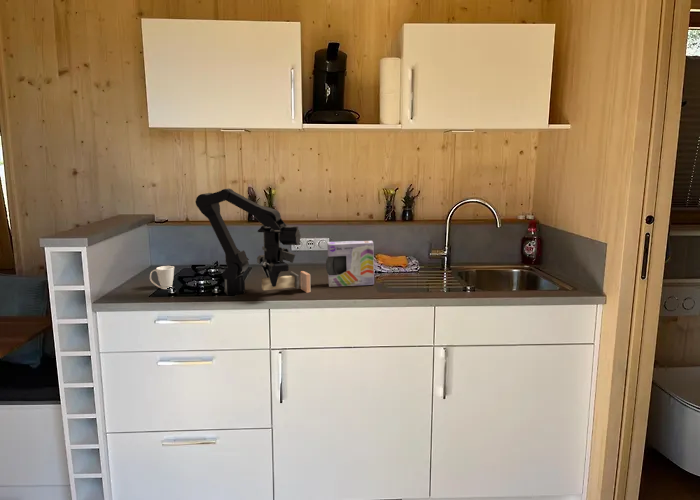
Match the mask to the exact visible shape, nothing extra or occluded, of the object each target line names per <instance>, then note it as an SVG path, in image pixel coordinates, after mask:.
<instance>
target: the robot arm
mask: <svg viewBox="0 0 700 500" xmlns="http://www.w3.org/2000/svg"><path fill="white" fill-rule="evenodd" d="M225 201H226V202H228V203H230V204H232V205H234V206H236V207H238V208H239V209H241V210H243V211H244V212H246V213H248V214H250V215H252V216H253V217H254V218H255V219H256V220H257V221H258V222H259V223H260V224H261V226H260V228H259V229H257V233H263V246H262V247H261V250H262V251H263V254H259V255H258V256H257V258H256V264H258V265H260V268H261V269H262V272H263V273H264V274H265V278H270V281H271V284H272V286H273V287H275V286H276V283H277V279H278V277H280V276H279V275H280V273H281V272H288V271H289V267H290V266H289V264H287V262H290V263H292V264H293V263H294V260H295V257H296V254H294V253H292V252H290V251H289V249H288V248H286V247H281V244H282V245H284V246H299V245H300V244H301V233H300V232H301V231H300V230H299V226H295V225H294V226H287V224H286V223H285V221H284V220H283V219H282V217H281V214H280V213H281V212H279V211H278V210H277V209H274V208H272V207H268V206H264V205H260V204H258V203H257V202H255V201H252V200H251V199H250V198H247V197H246V196H243V195H241V194H240V193H238V192H236V191H234V190H233V189H232V188H223V189H221V190H219V191H216V192H208V193H206V192H205V193H200V194H198V196H197V197H196V199H195V205H196V207H197V209H199V211H200V213H201V214H202V215H203V216H204V217H205V218H207V219H208V221H209V224H210V226H211V228H212V229H213V232H214V233H215V236H216V238H217V240H218V241H219V243H220V246H221V248H222V250H223V252H224V254H225V255H224V258H225V264H226V268H225V270H223V272H222V273H221V276H222V279H223V280H224V290H223V292H224V293H225V294H226V296H233V295H241V294H242V295H243V294H245V293H246V291H245V290H246V285H245V284H246V283H245V279H244V274H245V271H247V270H248V267H249V265H250V263H249V260H250V259H249V257H248V256H247V255H246V251H245V250H239V249H238V247H237V246H236V243H235V242H234V239H233V237H232V235H231V233H230V231H229V228H228V227H227V225H226V222H225V221H224V219H223V217H222V214H221V206H220V203H222V202H225ZM285 261H287V262H285ZM261 264H262V265H261Z"/></svg>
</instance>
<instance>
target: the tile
mask: <svg viewBox="0 0 700 500" xmlns="http://www.w3.org/2000/svg"><path fill="white" fill-rule="evenodd" d="M300 290H302V291H303V292H305V293H306V294H307V293H311V274H310V273H308V272H307V271H304V270H301V271H300Z"/></svg>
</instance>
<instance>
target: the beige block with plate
mask: <svg viewBox="0 0 700 500" xmlns="http://www.w3.org/2000/svg"><path fill="white" fill-rule="evenodd" d="M299 280H300V275H299V274H297V273H296V272H294V271H290V272H289V275H282V276H278V279H277V283H276V286H275V287H273V286H272V284H271V281H270V278H267V277H261V290H263V291H270V290H281V289H291V288H295V289H300V281H299Z"/></svg>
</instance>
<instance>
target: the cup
mask: <svg viewBox="0 0 700 500" xmlns="http://www.w3.org/2000/svg"><path fill="white" fill-rule="evenodd" d="M155 268H156V269H153V270H151V271H150V274H149V280H150V282H151V283H152V284H153V285H154V286H156V287H157V288H159V289H161V290H168V289H167V288H169V287H172V288H173V283H174V282H173V281H174V277H175V276H174V274H175V266H173V265H172V266H171V265H162V266H158V267H155ZM153 272H156V275H157V279H158V283H159V284H160V285H158V284H157V283H156V282H155V281H154V280H153V279H152V274H153Z"/></svg>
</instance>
